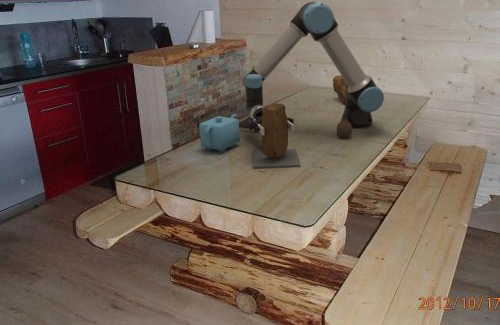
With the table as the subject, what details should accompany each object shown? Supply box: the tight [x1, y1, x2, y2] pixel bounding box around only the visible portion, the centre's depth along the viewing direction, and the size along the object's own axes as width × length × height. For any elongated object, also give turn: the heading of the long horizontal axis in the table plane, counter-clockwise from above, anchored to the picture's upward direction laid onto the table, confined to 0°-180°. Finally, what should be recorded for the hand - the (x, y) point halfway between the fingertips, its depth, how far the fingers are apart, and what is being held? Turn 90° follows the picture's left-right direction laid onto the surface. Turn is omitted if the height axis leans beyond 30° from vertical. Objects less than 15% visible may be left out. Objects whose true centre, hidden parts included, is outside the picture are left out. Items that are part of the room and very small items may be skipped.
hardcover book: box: [239, 116, 255, 133], centre depth 225 cm, size 16×23×2 cm
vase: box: [336, 117, 353, 140], centre depth 200 cm, size 7×7×9 cm
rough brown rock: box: [332, 74, 346, 105], centre depth 257 cm, size 23×17×15 cm
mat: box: [252, 148, 301, 170], centre depth 179 cm, size 18×18×1 cm
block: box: [261, 102, 289, 157], centre depth 175 cm, size 11×8×20 cm
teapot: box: [198, 113, 240, 153], centre depth 194 cm, size 22×11×14 cm, turn 147°
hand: (278, 130), depth 171 cm, fingers closed on block, 11 cm apart
